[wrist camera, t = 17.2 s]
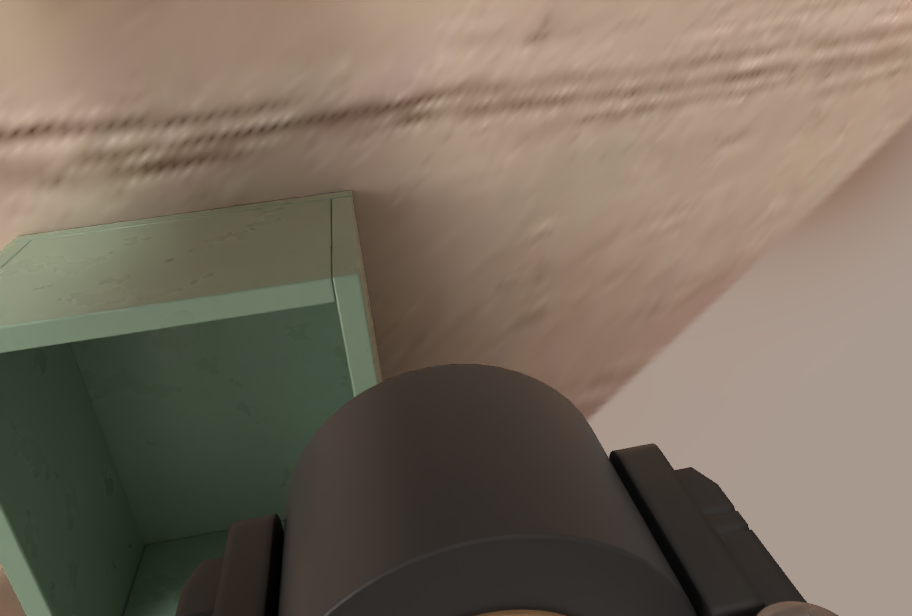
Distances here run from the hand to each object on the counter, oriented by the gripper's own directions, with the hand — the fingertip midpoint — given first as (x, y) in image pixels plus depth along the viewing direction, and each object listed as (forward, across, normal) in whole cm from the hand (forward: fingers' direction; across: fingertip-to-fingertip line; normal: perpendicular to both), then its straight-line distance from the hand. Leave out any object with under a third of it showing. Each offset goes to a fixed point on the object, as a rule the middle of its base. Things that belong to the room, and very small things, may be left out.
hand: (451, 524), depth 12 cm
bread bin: (+19, +8, +7) cm, 21 cm away
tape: (+1, 0, 0) cm, 1 cm away
